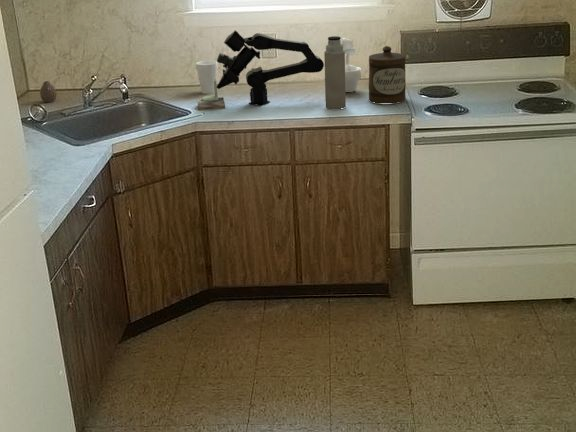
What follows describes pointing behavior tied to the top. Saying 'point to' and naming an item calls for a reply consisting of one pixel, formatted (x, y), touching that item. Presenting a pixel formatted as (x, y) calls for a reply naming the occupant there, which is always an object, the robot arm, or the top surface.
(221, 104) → the station
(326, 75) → the thermos bottle
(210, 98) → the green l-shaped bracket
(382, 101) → the wooden container
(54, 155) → the top surface
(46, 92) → the avocado
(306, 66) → the robot arm
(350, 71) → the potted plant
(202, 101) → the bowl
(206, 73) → the foam cup
